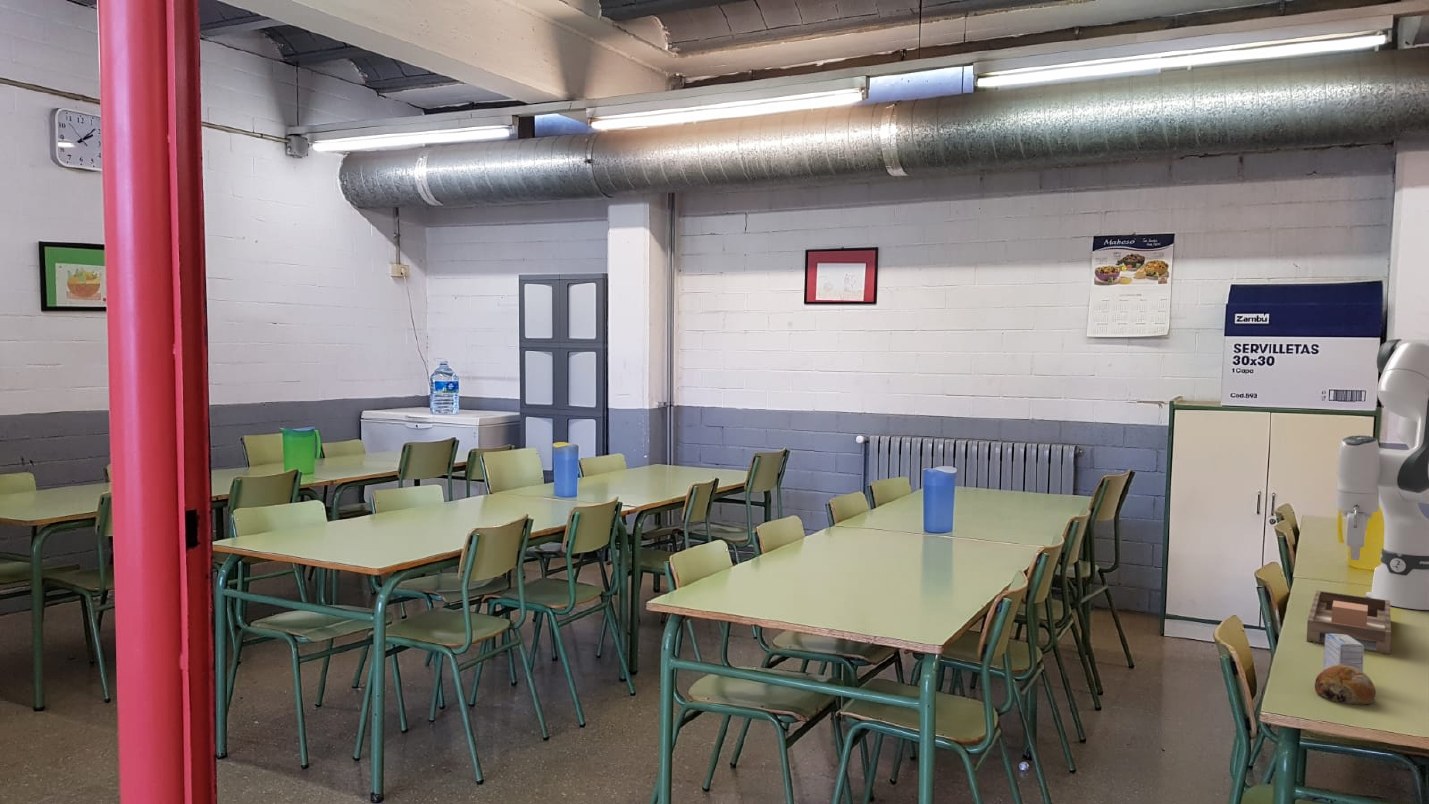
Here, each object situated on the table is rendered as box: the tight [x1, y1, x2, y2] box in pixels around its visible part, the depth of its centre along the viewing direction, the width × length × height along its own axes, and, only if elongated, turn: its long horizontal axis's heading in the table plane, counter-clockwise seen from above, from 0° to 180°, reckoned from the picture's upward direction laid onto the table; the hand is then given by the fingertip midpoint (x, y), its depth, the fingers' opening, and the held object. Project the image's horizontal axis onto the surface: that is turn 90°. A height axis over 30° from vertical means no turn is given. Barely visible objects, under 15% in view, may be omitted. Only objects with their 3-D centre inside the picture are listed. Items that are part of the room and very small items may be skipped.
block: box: [1331, 601, 1368, 628], centre depth 237 cm, size 7×7×4 cm
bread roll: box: [1314, 665, 1377, 706], centre depth 193 cm, size 10×10×8 cm
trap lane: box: [1306, 590, 1392, 655], centre depth 241 cm, size 36×16×5 cm, turn 146°
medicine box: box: [1322, 634, 1365, 673], centre depth 203 cm, size 8×4×9 cm, turn 168°
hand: (1355, 558), depth 242 cm, fingers closed
